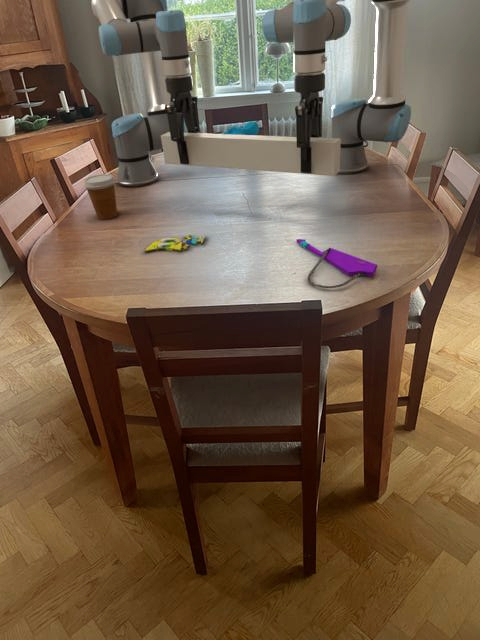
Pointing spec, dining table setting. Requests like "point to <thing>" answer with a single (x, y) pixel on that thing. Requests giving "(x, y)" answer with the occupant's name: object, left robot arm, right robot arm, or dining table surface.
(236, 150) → the bar
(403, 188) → the dining table surface
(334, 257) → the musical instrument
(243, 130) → the toy
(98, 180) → the disposable coffee cup
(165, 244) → the toy
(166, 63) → the left robot arm
